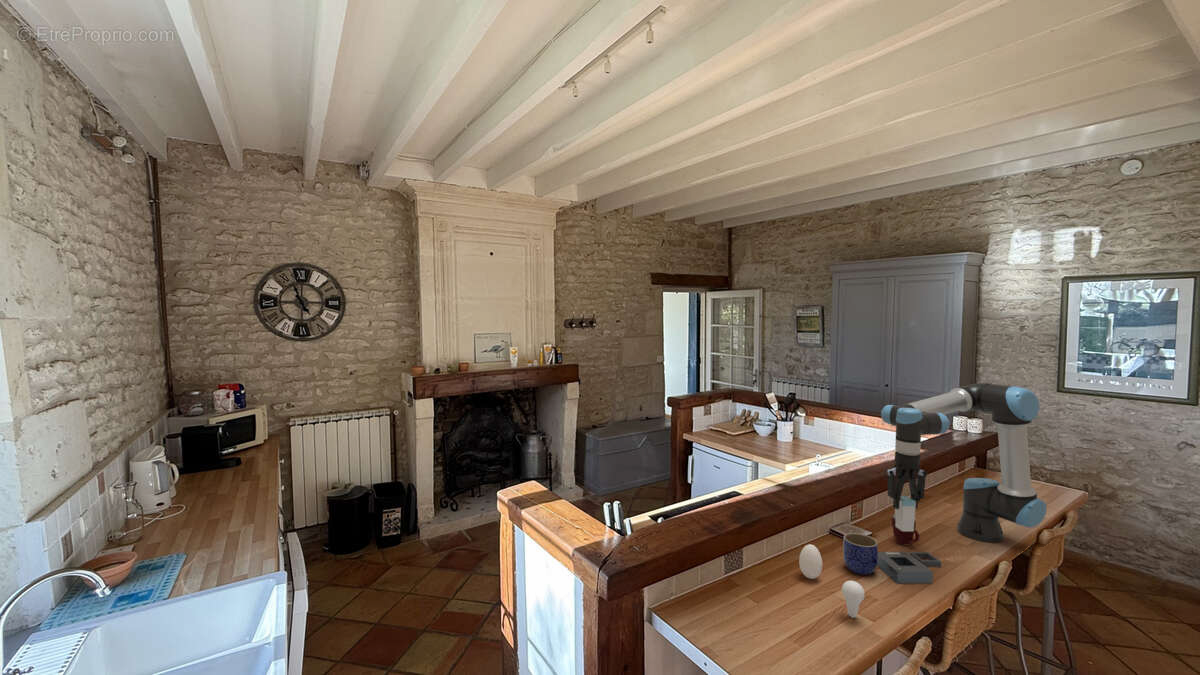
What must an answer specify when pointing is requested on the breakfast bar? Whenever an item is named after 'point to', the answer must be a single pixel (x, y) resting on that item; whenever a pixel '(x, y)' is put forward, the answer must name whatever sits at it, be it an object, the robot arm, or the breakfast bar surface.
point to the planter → (860, 553)
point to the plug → (906, 514)
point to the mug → (904, 533)
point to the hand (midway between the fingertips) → (904, 517)
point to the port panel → (904, 568)
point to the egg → (810, 561)
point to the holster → (931, 560)
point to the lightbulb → (853, 596)
